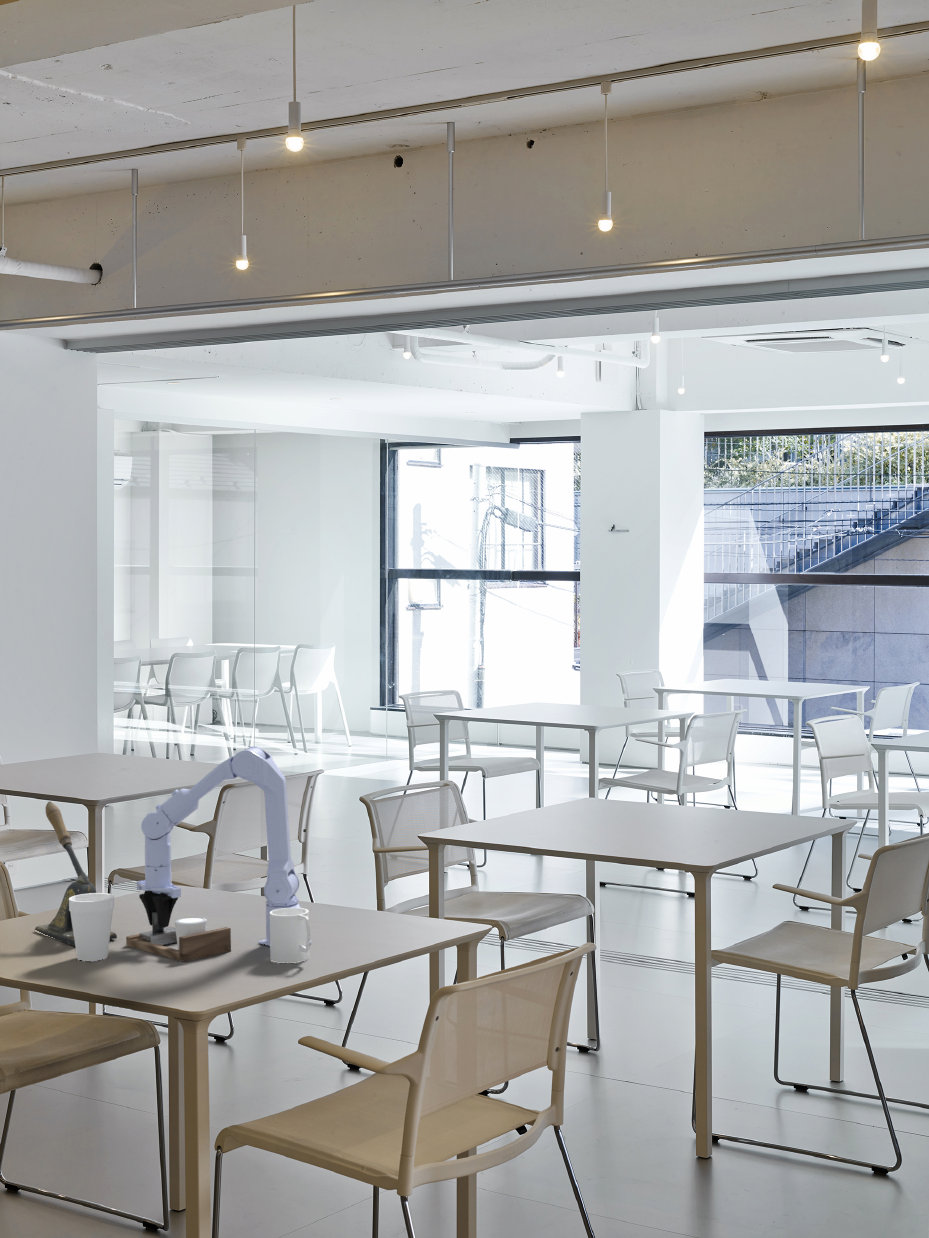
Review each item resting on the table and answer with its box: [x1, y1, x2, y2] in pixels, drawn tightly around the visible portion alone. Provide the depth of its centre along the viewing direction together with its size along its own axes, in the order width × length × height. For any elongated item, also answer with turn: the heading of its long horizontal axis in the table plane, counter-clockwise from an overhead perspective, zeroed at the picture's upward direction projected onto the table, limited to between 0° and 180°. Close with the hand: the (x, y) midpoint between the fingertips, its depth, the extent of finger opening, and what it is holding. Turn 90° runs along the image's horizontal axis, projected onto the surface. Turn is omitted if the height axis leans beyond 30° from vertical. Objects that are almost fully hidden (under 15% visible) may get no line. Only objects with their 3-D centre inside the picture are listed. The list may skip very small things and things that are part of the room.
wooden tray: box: [125, 926, 232, 963], centre depth 308 cm, size 22×12×5 cm, turn 46°
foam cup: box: [69, 892, 115, 962], centre depth 301 cm, size 10×9×13 cm
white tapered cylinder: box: [174, 916, 208, 950], centre depth 305 cm, size 7×7×7 cm
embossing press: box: [34, 801, 118, 947], centre depth 322 cm, size 11×24×30 cm, turn 38°
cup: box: [269, 907, 311, 963], centre depth 296 cm, size 8×12×10 cm
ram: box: [138, 911, 177, 946], centre depth 313 cm, size 4×8×7 cm, turn 136°
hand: (159, 925), depth 313 cm, fingers closed on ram, 3 cm apart
